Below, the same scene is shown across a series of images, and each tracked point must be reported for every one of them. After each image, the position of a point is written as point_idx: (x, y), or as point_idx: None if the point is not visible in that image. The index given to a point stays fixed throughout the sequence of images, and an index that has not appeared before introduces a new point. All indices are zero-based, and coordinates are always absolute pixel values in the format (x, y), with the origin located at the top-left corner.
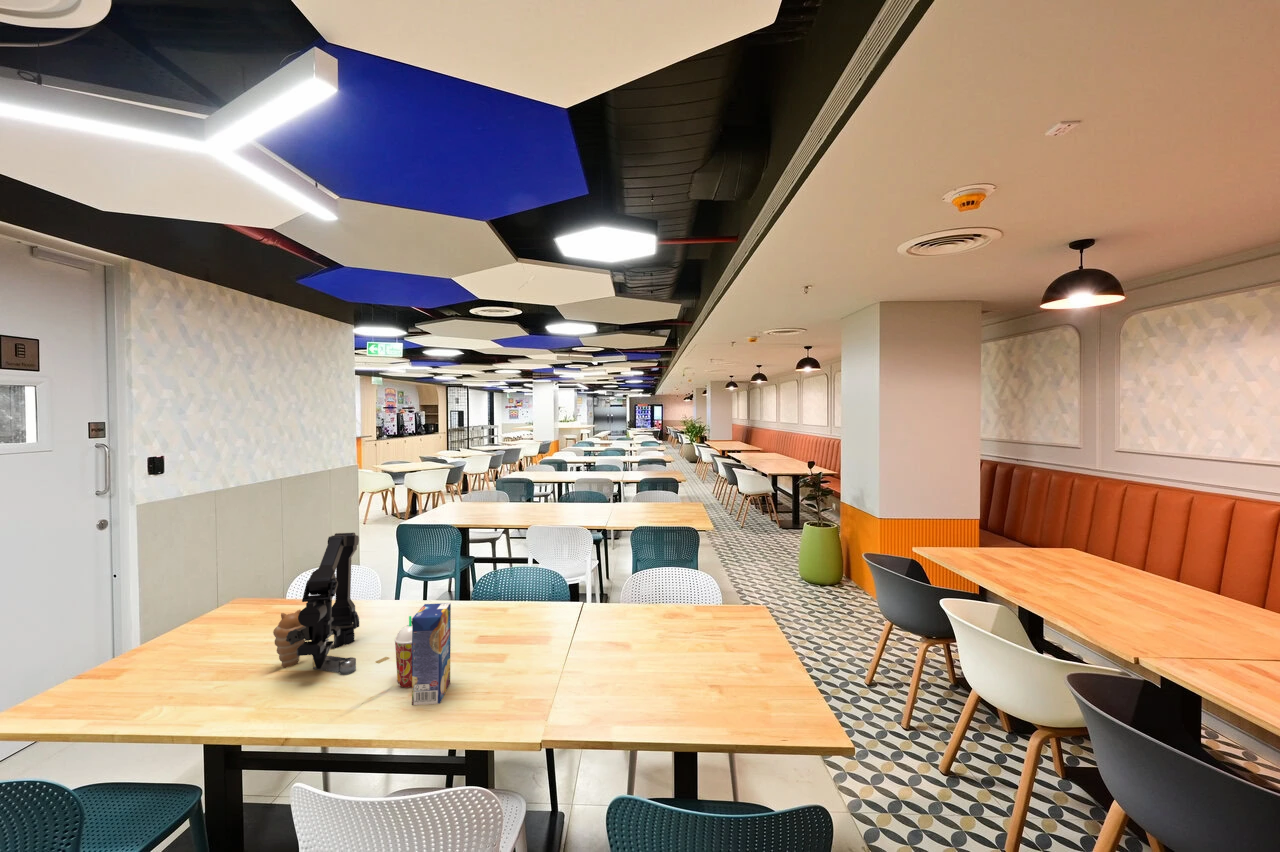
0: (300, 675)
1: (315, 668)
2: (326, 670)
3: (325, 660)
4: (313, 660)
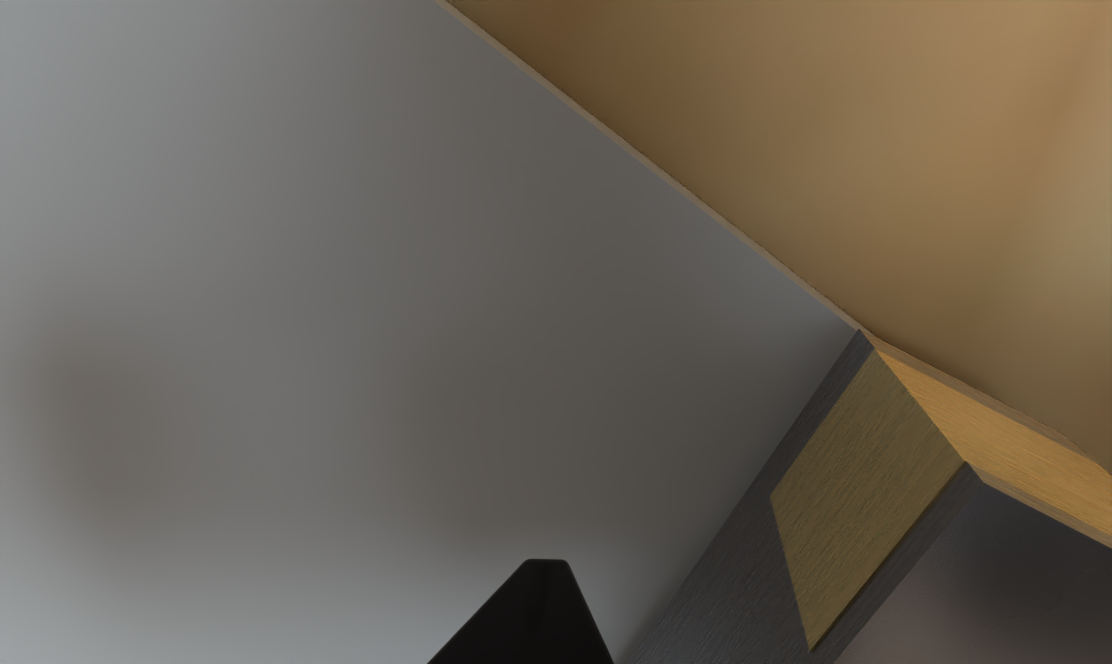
0: (823, 19)
1: (816, 407)
2: (638, 654)
3: None
4: (926, 454)
